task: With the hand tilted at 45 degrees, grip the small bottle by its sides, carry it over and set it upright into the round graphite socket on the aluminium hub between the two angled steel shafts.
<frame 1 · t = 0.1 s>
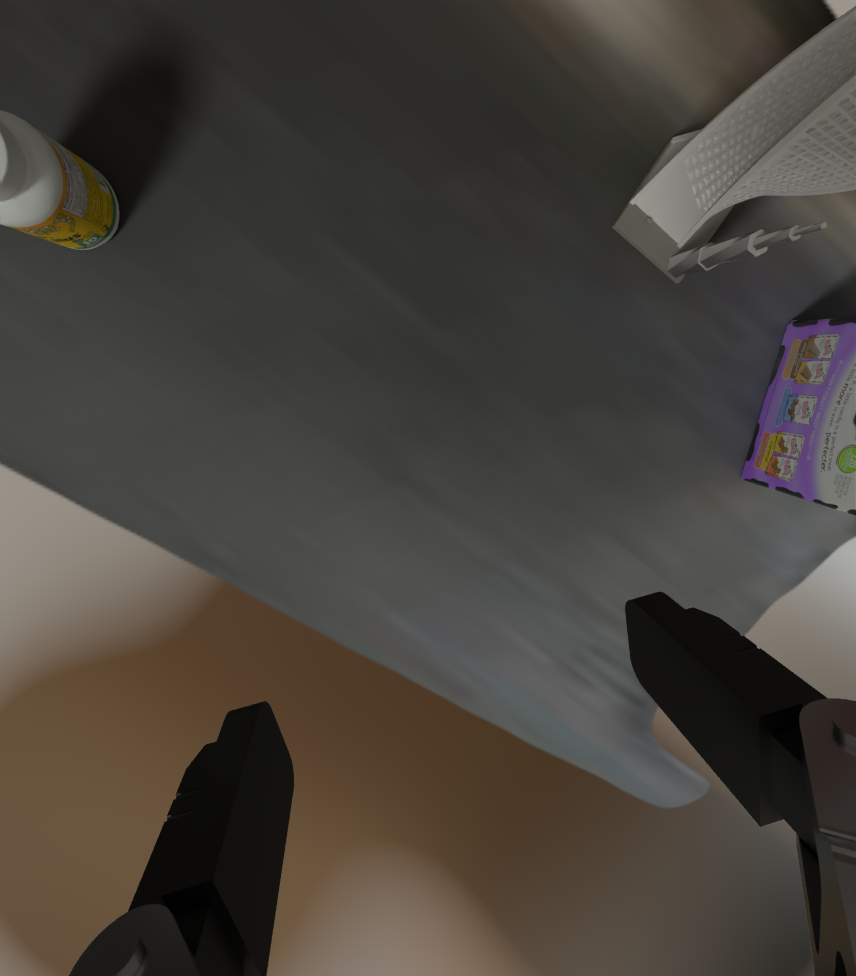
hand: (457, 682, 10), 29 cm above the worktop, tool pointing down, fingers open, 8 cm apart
skyscraper: (669, 202, 36), on the worktop
candy box: (787, 406, 42), on the worktop
supplement bottle: (79, 207, 32), on the worktop
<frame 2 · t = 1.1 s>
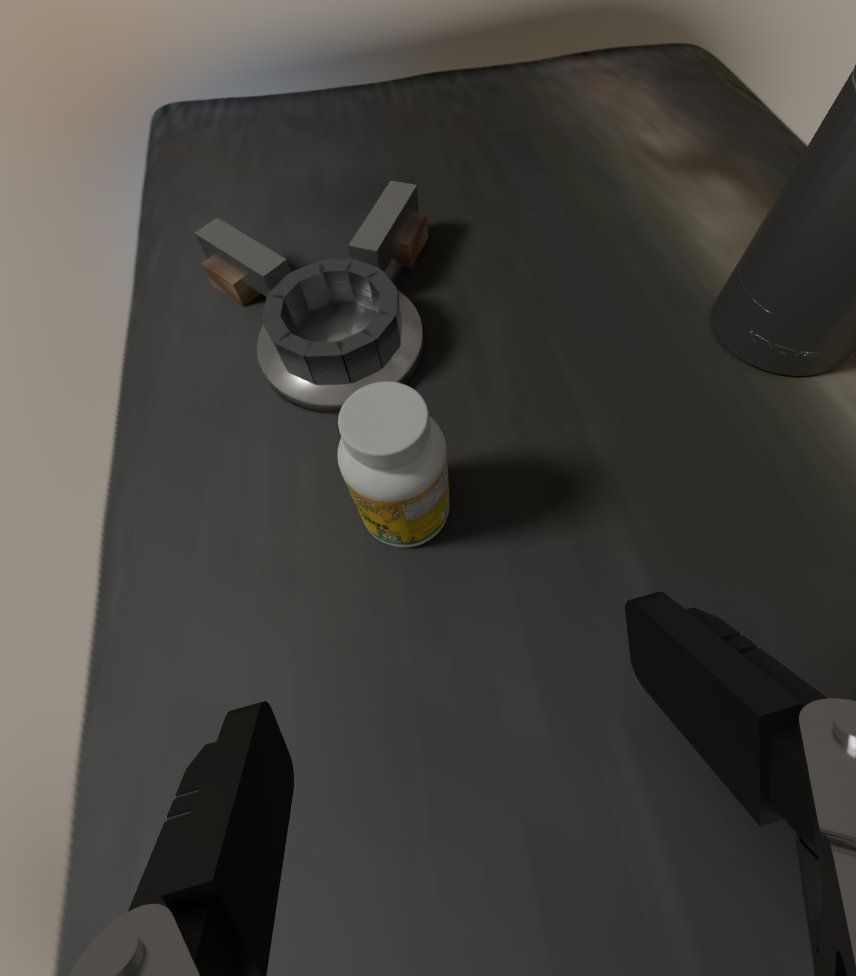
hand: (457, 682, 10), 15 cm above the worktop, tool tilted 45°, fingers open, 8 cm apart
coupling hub: (343, 347, 36), on the worktop
angled shafts: (313, 229, 37), on the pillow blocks, point 3 cm above the worktop
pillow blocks: (343, 347, 36), on the worktop
supplement bottle: (405, 509, 30), on the worktop
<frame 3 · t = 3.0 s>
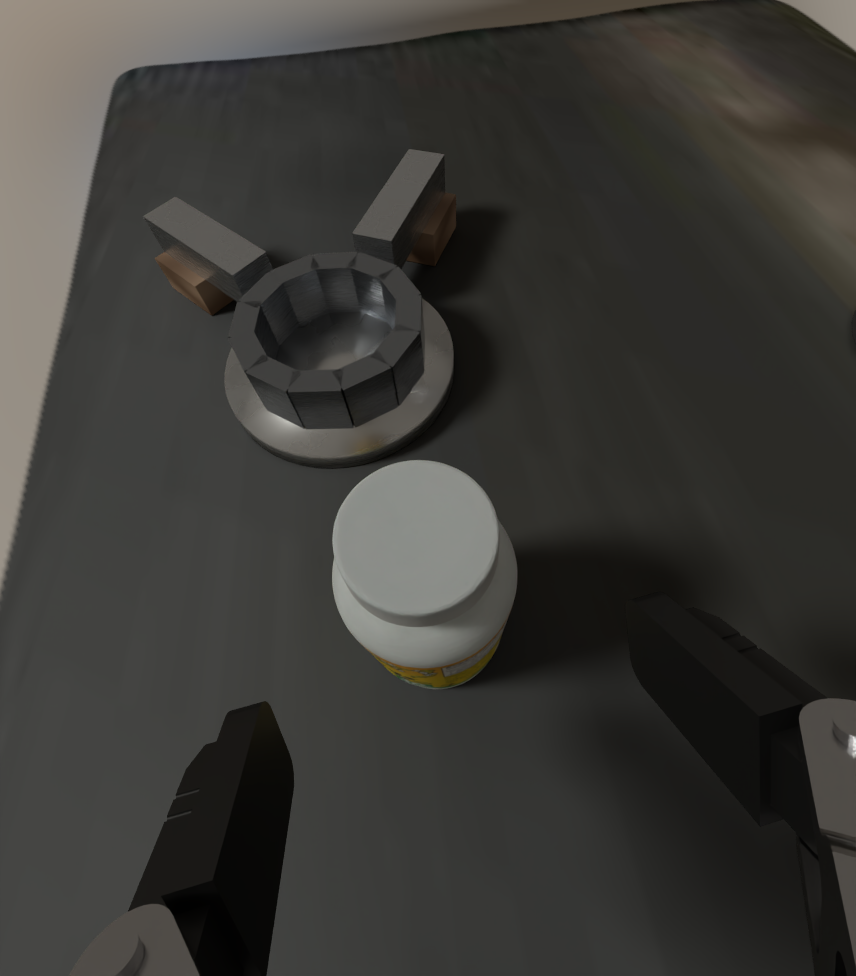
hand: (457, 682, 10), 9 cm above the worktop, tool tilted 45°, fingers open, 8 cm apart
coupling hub: (343, 372, 26), on the worktop
angled shafts: (304, 213, 28), on the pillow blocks, point 3 cm above the worktop
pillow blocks: (343, 372, 26), on the worktop
supplement bottle: (434, 621, 20), on the worktop
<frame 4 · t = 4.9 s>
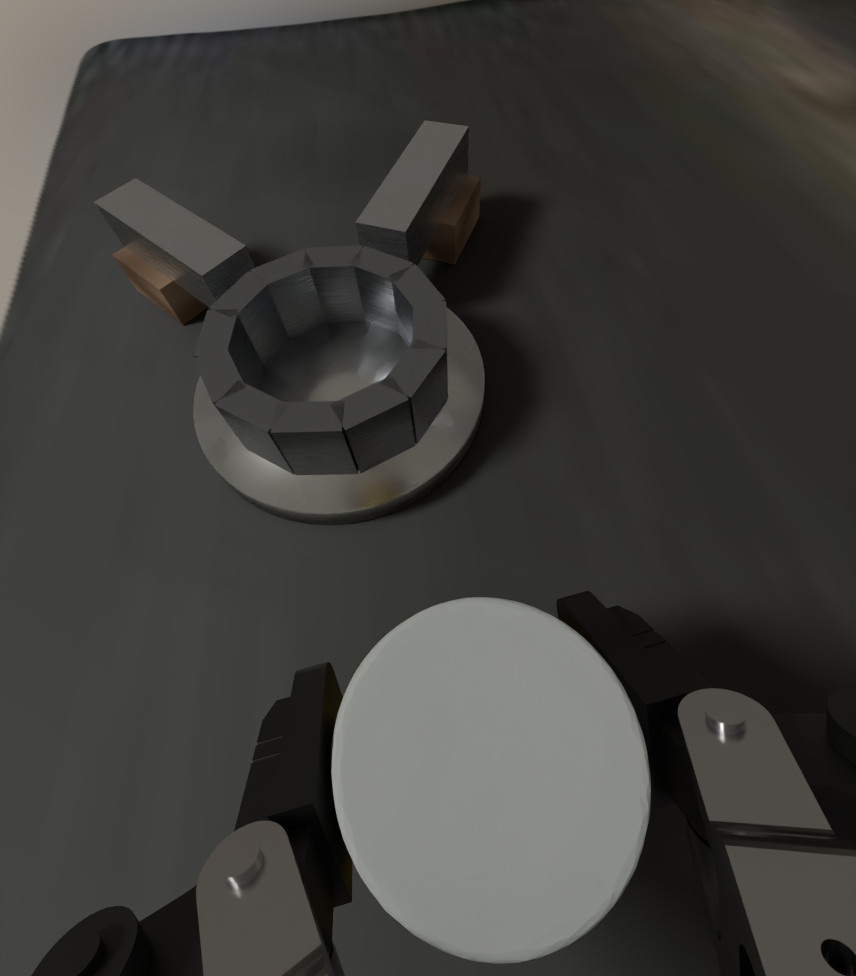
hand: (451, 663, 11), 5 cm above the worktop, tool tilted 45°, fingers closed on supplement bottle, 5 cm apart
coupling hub: (344, 397, 21), on the worktop
angled shafts: (296, 199, 22), on the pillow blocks, point 3 cm above the worktop
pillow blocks: (344, 397, 21), on the worktop
supplement bottle: (470, 746, 15), on the worktop, touching gripper
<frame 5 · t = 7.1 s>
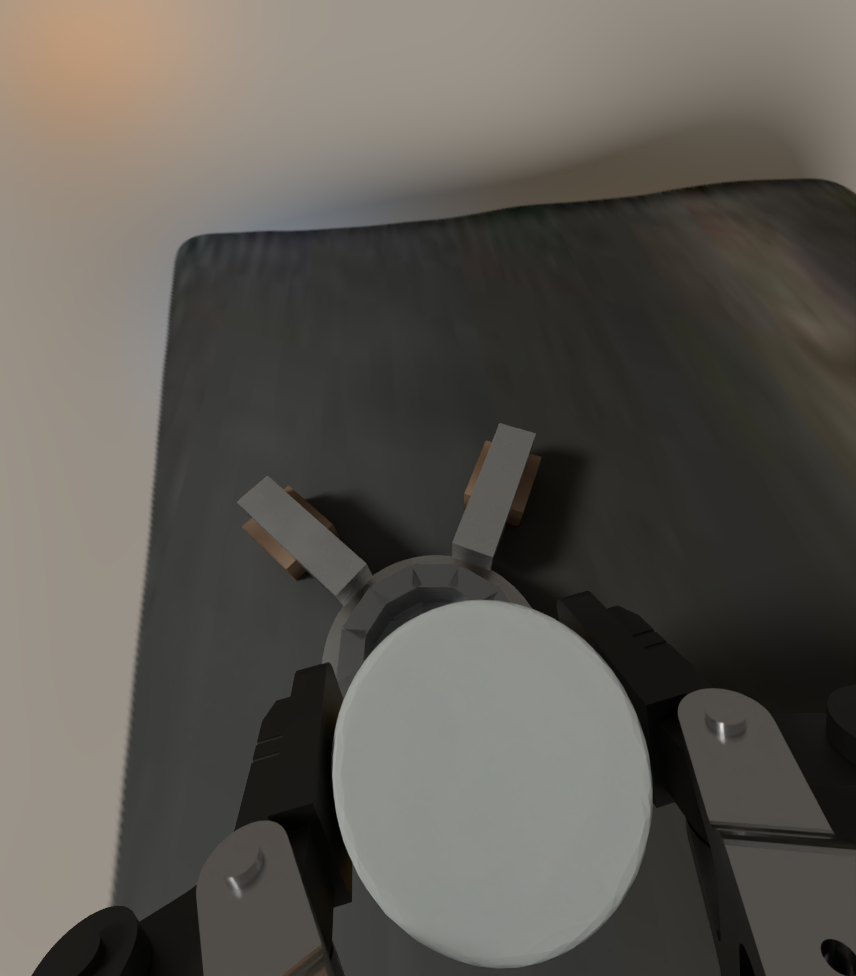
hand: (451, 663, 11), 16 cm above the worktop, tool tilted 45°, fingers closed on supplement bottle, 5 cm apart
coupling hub: (436, 667, 26), on the worktop
angled shafts: (395, 491, 28), on the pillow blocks, point 3 cm above the worktop
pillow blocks: (436, 667, 26), on the worktop
supplement bottle: (470, 747, 15), point 11 cm above the worktop, touching gripper
when the fingers open (7 cm above the worktop, at t = 9.6 s): supplement bottle drops 1 cm, resting on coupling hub.
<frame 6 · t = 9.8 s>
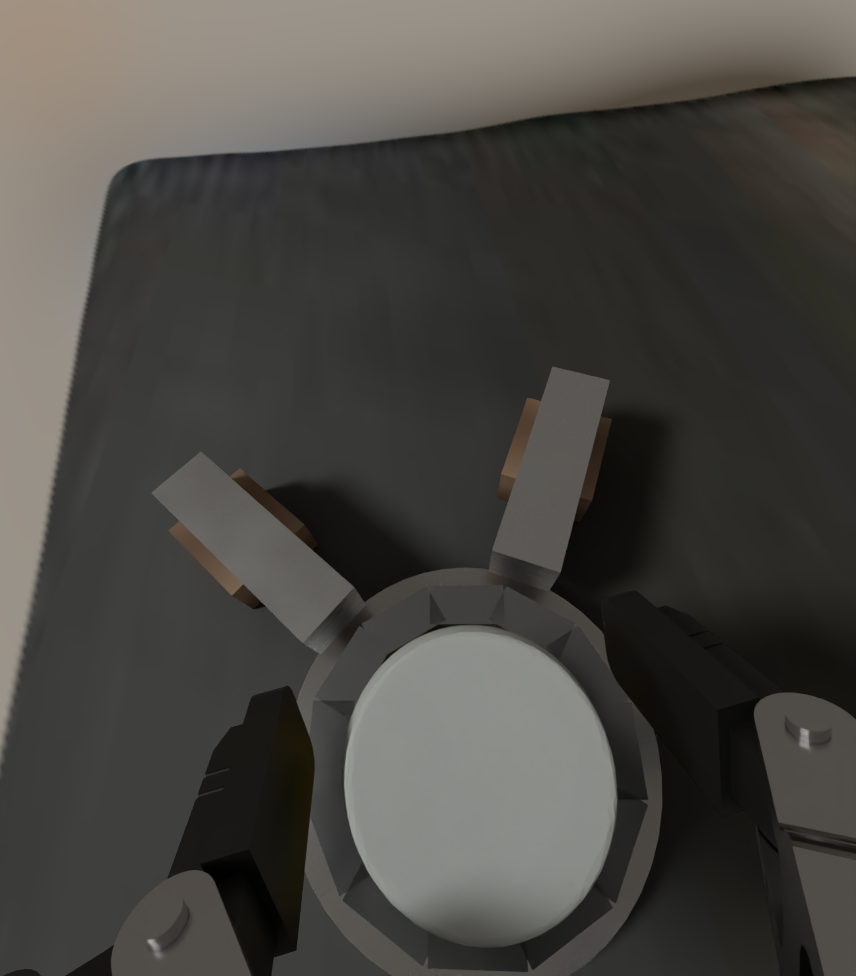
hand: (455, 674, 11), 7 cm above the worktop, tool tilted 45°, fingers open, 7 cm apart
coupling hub: (468, 745, 17), on the worktop
angled shafts: (397, 471, 18), on the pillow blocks, point 3 cm above the worktop
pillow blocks: (468, 745, 17), on the worktop
supplement bottle: (469, 751, 16), point 1 cm above the worktop, touching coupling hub
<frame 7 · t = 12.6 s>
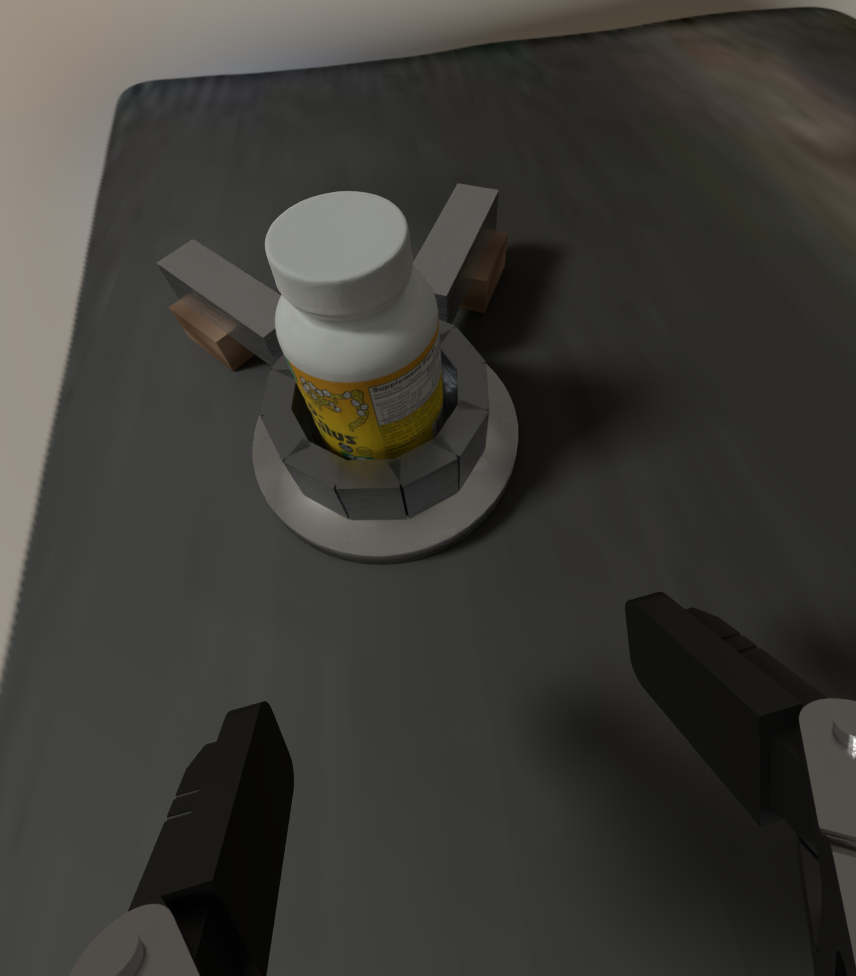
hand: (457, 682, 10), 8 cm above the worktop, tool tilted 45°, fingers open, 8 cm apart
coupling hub: (387, 443, 23), on the worktop
angled shafts: (340, 257, 24), on the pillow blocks, point 3 cm above the worktop
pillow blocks: (387, 443, 23), on the worktop
supplement bottle: (385, 434, 22), point 1 cm above the worktop, touching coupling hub
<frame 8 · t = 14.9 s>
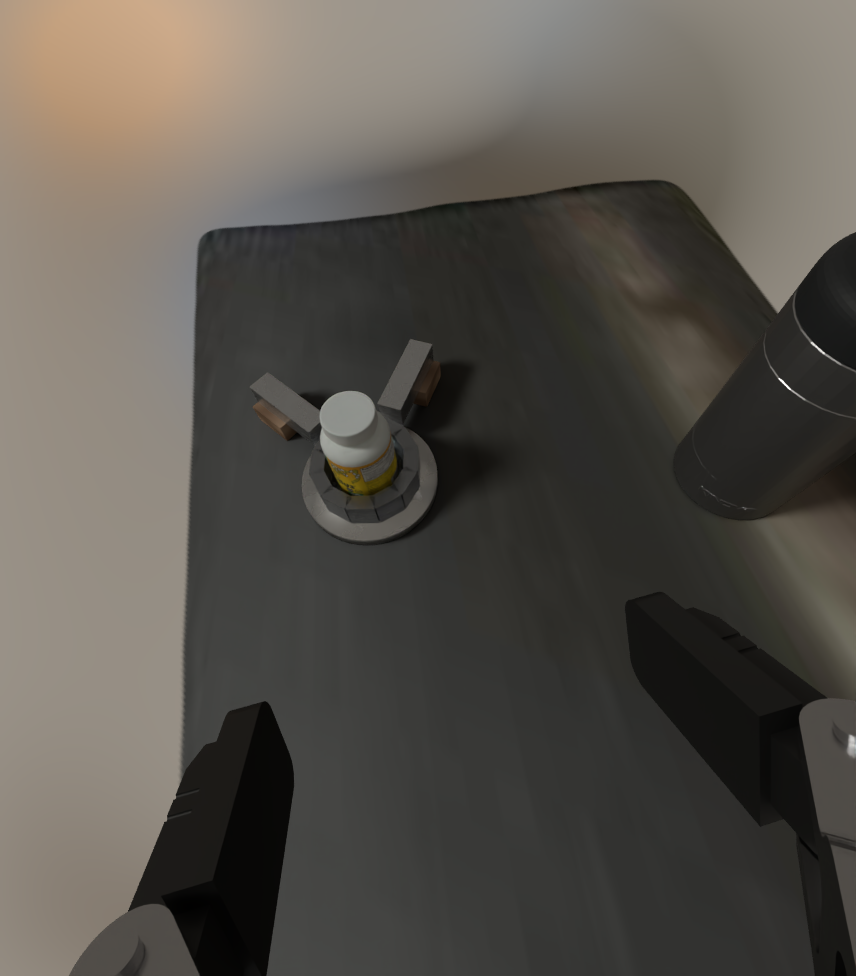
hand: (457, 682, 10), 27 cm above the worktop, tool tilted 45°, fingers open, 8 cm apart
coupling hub: (371, 482, 43), on the worktop
angled shafts: (346, 381, 45), on the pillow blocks, point 3 cm above the worktop
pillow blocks: (371, 482, 43), on the worktop
supplement bottle: (369, 479, 42), point 1 cm above the worktop, touching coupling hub
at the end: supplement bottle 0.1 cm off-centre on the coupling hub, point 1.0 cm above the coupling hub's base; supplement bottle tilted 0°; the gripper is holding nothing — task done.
